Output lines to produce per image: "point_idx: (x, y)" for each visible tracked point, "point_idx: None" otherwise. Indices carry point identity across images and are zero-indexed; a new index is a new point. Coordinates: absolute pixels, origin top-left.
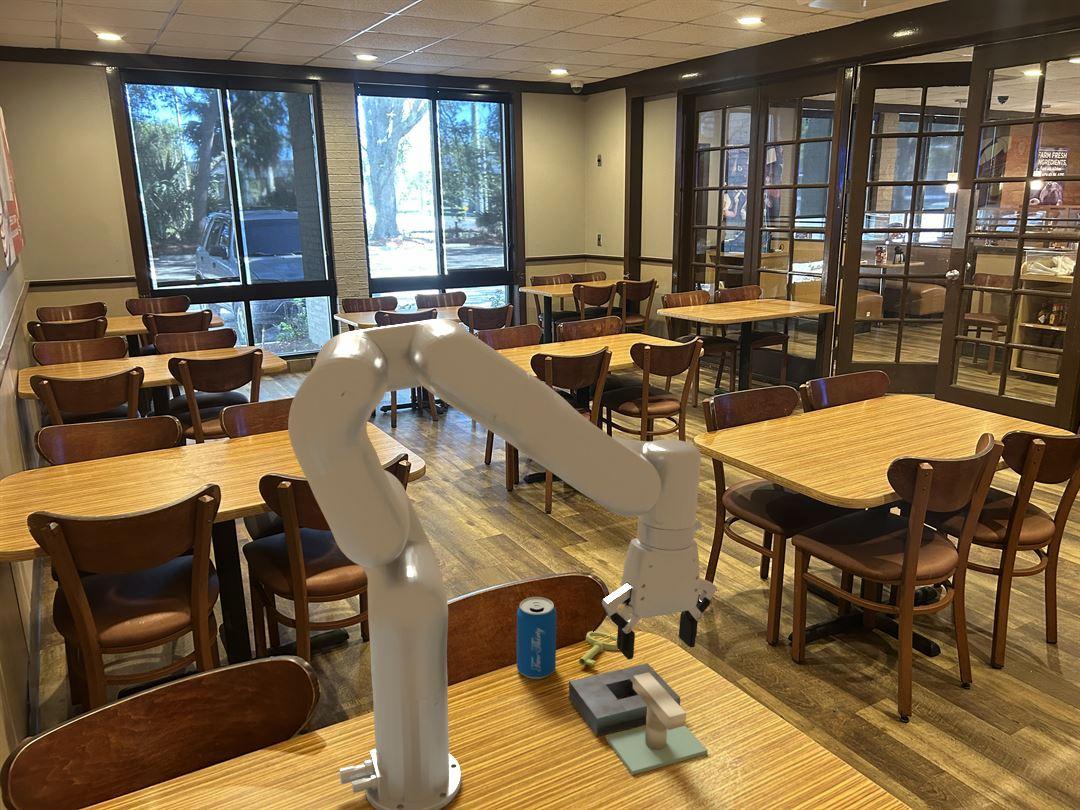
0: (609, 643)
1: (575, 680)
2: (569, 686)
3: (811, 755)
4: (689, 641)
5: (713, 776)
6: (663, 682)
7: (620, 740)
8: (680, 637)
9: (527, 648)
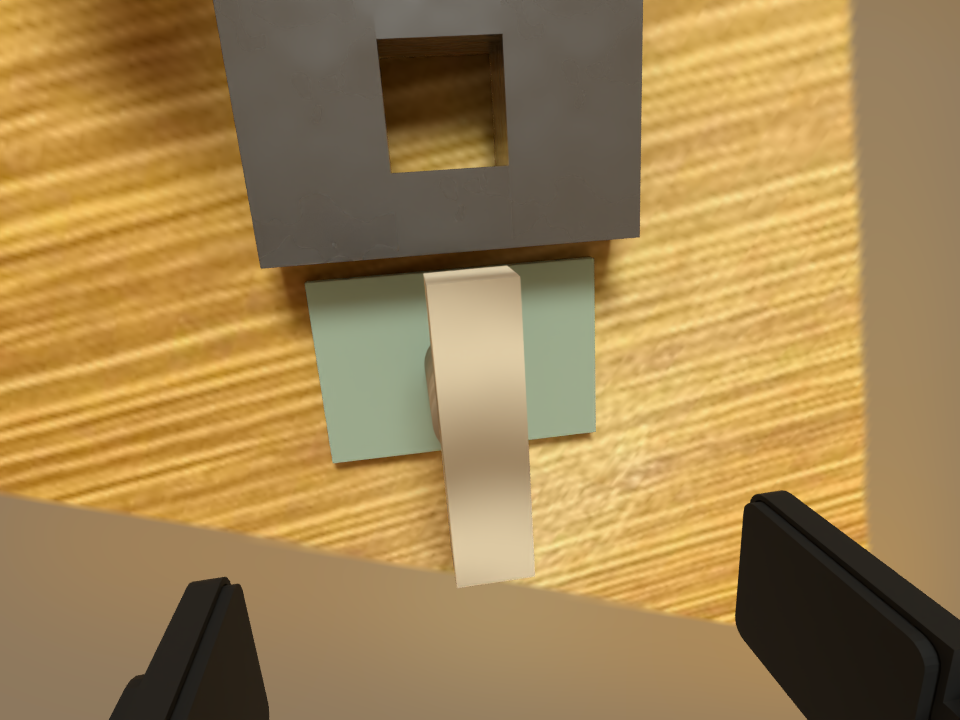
0: None
1: None
2: None
3: (841, 494)
4: (760, 652)
5: (556, 508)
6: (631, 113)
7: (347, 321)
8: (750, 525)
9: None
